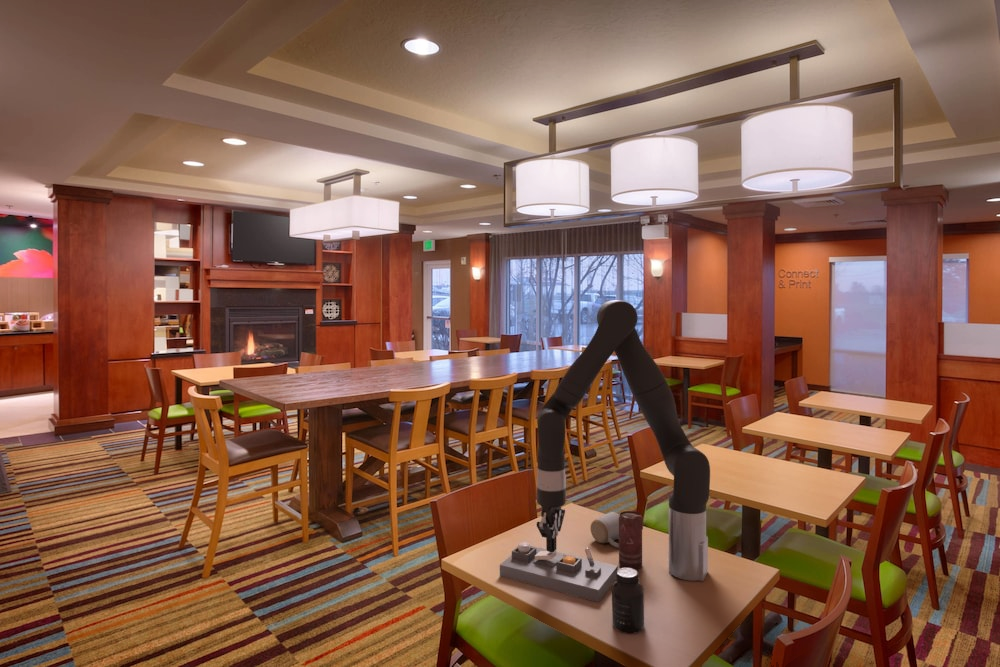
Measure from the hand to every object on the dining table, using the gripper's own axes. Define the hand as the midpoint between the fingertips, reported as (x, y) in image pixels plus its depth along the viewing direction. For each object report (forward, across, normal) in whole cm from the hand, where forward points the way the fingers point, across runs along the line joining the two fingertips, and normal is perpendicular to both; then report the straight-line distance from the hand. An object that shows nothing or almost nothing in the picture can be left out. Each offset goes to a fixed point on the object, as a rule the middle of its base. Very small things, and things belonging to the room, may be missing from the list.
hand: (551, 550), depth 145 cm
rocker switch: (+2, 0, +2) cm, 3 cm away
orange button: (+3, 0, -5) cm, 6 cm away
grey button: (+2, 0, +8) cm, 8 cm away
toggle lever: (+2, 0, -11) cm, 12 cm away
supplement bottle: (+7, -13, -24) cm, 28 cm away
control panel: (+6, 0, -2) cm, 7 cm away
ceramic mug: (+7, +27, -7) cm, 29 cm away
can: (+6, +15, -16) cm, 23 cm away
